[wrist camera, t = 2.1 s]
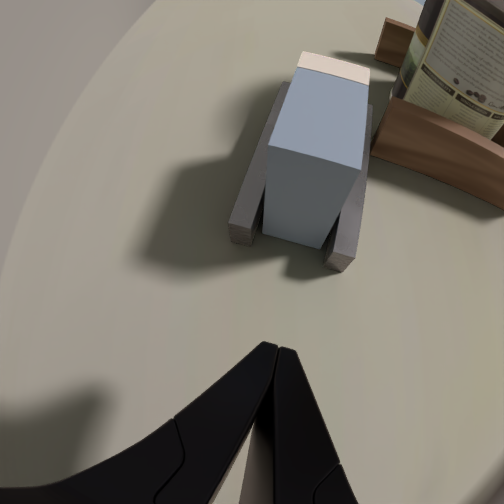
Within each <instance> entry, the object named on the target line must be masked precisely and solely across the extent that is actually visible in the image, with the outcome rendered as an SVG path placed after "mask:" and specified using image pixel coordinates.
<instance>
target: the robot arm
mask: <svg viewBox="0 0 504 504" xmlns="http://www.w3.org/2000/svg"><path fill="white" fill-rule="evenodd" d="M253 423H254V425H253ZM252 425H253V429H252V434H251V440H250V445H249V451H248V457H247V462H246V468H245V473H244V479H243V484H242V490H241V495H240V500H239V504H358V502H357V500H356V498H355V496H354V493H353V491H352V489H351V486H350V484H349V482H348V480H347V477H346V475H345V472H344V469H343V467H342V465H341V464H339V463H340V460H339V457H338V455H337V452H336V450H335V447H334V445H333V442H332V439H331V437H330V434H329V432H328V429H327V427H326V424H325V422H324V419H323V417H322V414H321V412H320V409H319V407H318V404H317V402H316V399H315V397H314V394H313V392H312V389H311V387H310V384H309V382H308V379H307V377H306V374H305V372H304V369H303V367H302V364H301V362H300V359H299V357H298V354H297V352H296V351H295V350H293V349H290V348H286V347H283V346H281V347H278V345H276V344H272V343H269V342H266V341H263V342H261V343H260V344H259V345H258V346H256V347H255V348H254V349H253V350H252V351H251V352H250V353H249V354H248V355H246V356H245V357H244V358H243V359H242V360H241V361H240V362H238V363H237V364H236V365H235V366H234V367H233V368H232V369H230V370H229V371H228V372H227V373H226V374H225V375H223V376H222V377H221V378H220V379H219V380H218V381H216V382H215V383H214V384H213V385H212V386H210V387H209V388H208V389H207V390H206V391H205V392H203V393H202V394H201V395H200V396H198V397H197V398H196V399H195V400H194V401H192V402H191V403H190V404H189V405H187V406H186V407H185V408H184V409H182V410H181V411H180V412H179V413H177V414H176V415H175V416H174V418H173V419H172V418H171V419H170V420H168V421H167V422H166V423H164V424H163V425H162V426H161V427H159V428H158V429H157V430H155V431H154V432H152V433H151V434H149V435H148V436H147V437H145V438H144V439H142V440H141V441H139V442H137V443H136V444H134V445H132V446H131V447H129V448H127V449H125V450H124V451H122V452H120V453H118V454H116V455H114V456H112V457H110V458H108V459H106V460H104V461H102V462H100V463H98V464H96V465H94V466H92V467H90V468H88V469H86V470H84V471H82V472H79V473H77V474H75V475H73V476H71V477H68V478H66V479H63V480H60V481H57V482H54V483H51V484H46V485H41V486H33V487H0V504H212V503H213V502H214V500H215V498H216V496H217V494H218V492H219V491H220V489H221V487H222V485H223V483H224V481H225V479H226V478H227V476H228V474H229V472H230V470H231V468H232V466H233V464H234V462H235V460H236V458H237V456H238V454H239V452H240V450H241V448H242V446H243V444H244V442H245V440H246V438H247V436H248V434H249V432H250V430H251V428H252ZM338 464H339V465H338Z"/></svg>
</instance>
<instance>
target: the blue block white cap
mask: <svg viewBox="0 0 504 504" xmlns="http://www.w3.org/2000/svg"><path fill="white" fill-rule="evenodd" d="M369 76H370V69H369V68H366V67H363V66H359V65H356V64H352V63H349V62H345V61H342V60H338V59H334V58H330V57H326V56H322V55H318V54H314V53H309V52H305V51H303V52H302V54H301V57H300V60H299V62H298V65H297V68H296V71H295V74H294V76H293V79H292V82H291V84H290V87H289V90H288V92H287V95H286V98H285V100H284V103H283V106H282V108H281V111H280V114H279V116H278V119H277V122H276V125H275V127H274V130H273V133H272V135H271V138H270V141H269V144H268V155H267V171H266V186H265V202H264V217H263V232H262V234H266V235H270V236H273V237H277V238H281V239H284V240H288V241H291V242H295V243H299V244H302V245H306V246H309V247H313V248H316V249H320V248H321V246H322V245H323V243H324V241H325V239H326V237H327V235H328V233H329V231H330V230H331V228H332V226H333V224H334V222H335V220H336V218H337V216H338V214H339V212H340V211H341V209H342V207H343V205H344V203H345V201H346V199H347V197H348V195H349V193H350V191H351V189H352V187H353V185H354V183H355V181H356V179H357V177H358V175H359V173H360V171H361V166H362V157H363V148H364V139H365V128H366V117H367V104H368V88H369Z"/></svg>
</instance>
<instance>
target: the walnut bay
mask: <svg viewBox="0 0 504 504" xmlns="http://www.w3.org/2000/svg"><path fill="white" fill-rule="evenodd" d="M415 30H416V28H414V27H411V26H409V25H406V24H403V23H401V22H398V21H395V20H392V19H389V18H386V19H385V22H384V25H383V29H382V32H381V35H380V39H379V42H378V45H377V48H376V51H375V59H376V60H379V61H382V62H385V63H388V64H391V65H393V66H396V67H399V68H401V66H402V64H403V61H404V59H405V56H406V53H407V51H408V48H409V46H410V43H411V40H412V38H413V35H414V32H415ZM370 155H372V156H375V157H378V158H381V159H384V160H386V161H389V162H392V163H395V164H398V165H401V166H403V167H406V168H409V169H411V170H414V171H417V172H419V173H422V174H425V175H427V176H430V177H432V178H435V179H437V180H439V181H442V182H444V183H447V184H449V185H451V186H454V187H456V188H458V189H461V190H463V191H465V192H467V193H469V194H472V195H474V196H476V197H478V198H480V199H482V200H485V201H487V202H489V203H491V204H493V205H495V206H497V207H499V208H501V209H503V210H504V124H503V125H502V127H501V128H500V129H499V131H498V132H497V133H496V134H495V135H494V137H493V138H492V139H491V140H489V139H487V138H485V137H483V136H482V135H480V134H478V133H476V132H474V131H472V130H470V129H468V128H466V127H464V126H462V125H460V124H458V123H456V122H454V121H452V120H450V119H447V118H445V117H443V116H441V115H439V114H436V113H434V112H432V111H429V110H427V109H425V108H422V107H420V106H417V105H415V104H412V103H410V102H407V101H405V100H402V99H399V98H397V97H394V96H392V97H391V99H390V102H389V104H388V106H387V109H386V111H385V113H384V115H383V118H382V120H381V122H380V124H379V127H378V129H377V131H376V133H375V135H374V138H373V140H372V142H371V147H370Z"/></svg>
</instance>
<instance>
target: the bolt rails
mask: <svg viewBox="0 0 504 504" xmlns="http://www.w3.org/2000/svg"><path fill="white" fill-rule="evenodd" d="M290 84H291V83H288V82H282V85H281V87H280V89H279V92H278V94H277V97H276V99H275V102H274V104H273V107H272V109H271V112H270V114H269V117H268V119H267V122H266V124H265V127H264V129H263V132H262V134H261V137H260V139H259V142H258V145H257V147H256V150H255V152H254V155H253V157H252V160H251V163H250V165H249V168H248V170H247V173H246V176H245V178H244V181H243V184H242V186H241V189H240V192H239V194H238V197H237V200H236V202H235V205H234V208H233V210H232V213H231V216H230V219H229V221H228V226H229V232H230V238H231V242H235V243H239V244H242V245H246V246H249V247H251V245H252V242H253V239H254V236H255V233H256V230H257V227H258V223H259V220H260V217H261V214H262V211H263V208H264V202H265V186H266V171H267V155H268V144H269V141H270V138H271V135H272V133H273V130H274V127H275V125H276V122H277V119H278V116H279V114H280V111H281V108H282V106H283V103H284V100H285V98H286V95H287V92H288V90H289V87H290ZM372 113H373V105H370V104H367V117H366V128H365V139H364V148H363V157H362V166H361V171H360V173H359V175H358V177H357V179H356V181H355V183H354V185H353V187H352V189H351V191H350V193H349V195H348V197H347V199H346V201H345V203H344V205H343V207H342V209H341V211H340V212H339V214H338V216H337V218H336V220H335V222H334V224H333V226H332V228H331V232H330V236H329V241H328V246H327V250H326V255H325V259H324V264H323V267H325V268H329V269H332V270H336V271H339V272H343V271H344V270H345V269H346V268H347V267H348V265H349V264H350V263H351V262H352V261H353V260H354V259H355V256H356V251H357V245H358V239H359V232H360V226H361V219H362V212H363V205H364V198H365V190H366V181H367V172H368V163H369V153H370V141H371V128H372Z"/></svg>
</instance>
